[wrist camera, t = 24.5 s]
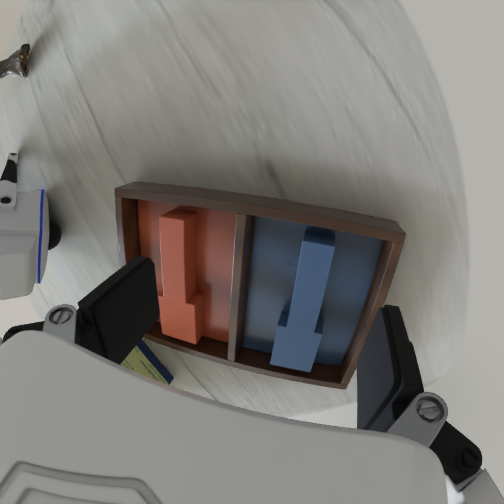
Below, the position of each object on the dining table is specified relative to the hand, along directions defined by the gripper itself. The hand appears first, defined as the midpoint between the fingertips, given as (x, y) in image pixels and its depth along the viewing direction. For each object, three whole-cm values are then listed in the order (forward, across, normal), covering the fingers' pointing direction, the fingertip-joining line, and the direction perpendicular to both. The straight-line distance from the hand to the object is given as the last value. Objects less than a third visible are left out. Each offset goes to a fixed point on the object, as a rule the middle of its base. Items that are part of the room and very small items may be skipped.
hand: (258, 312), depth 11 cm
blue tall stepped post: (+12, -2, +7) cm, 14 cm away
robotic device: (+14, +36, +4) cm, 38 cm away
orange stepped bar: (+12, +9, +7) cm, 17 cm away
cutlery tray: (+13, +4, +7) cm, 15 cm away
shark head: (+14, +42, -19) cm, 48 cm away
